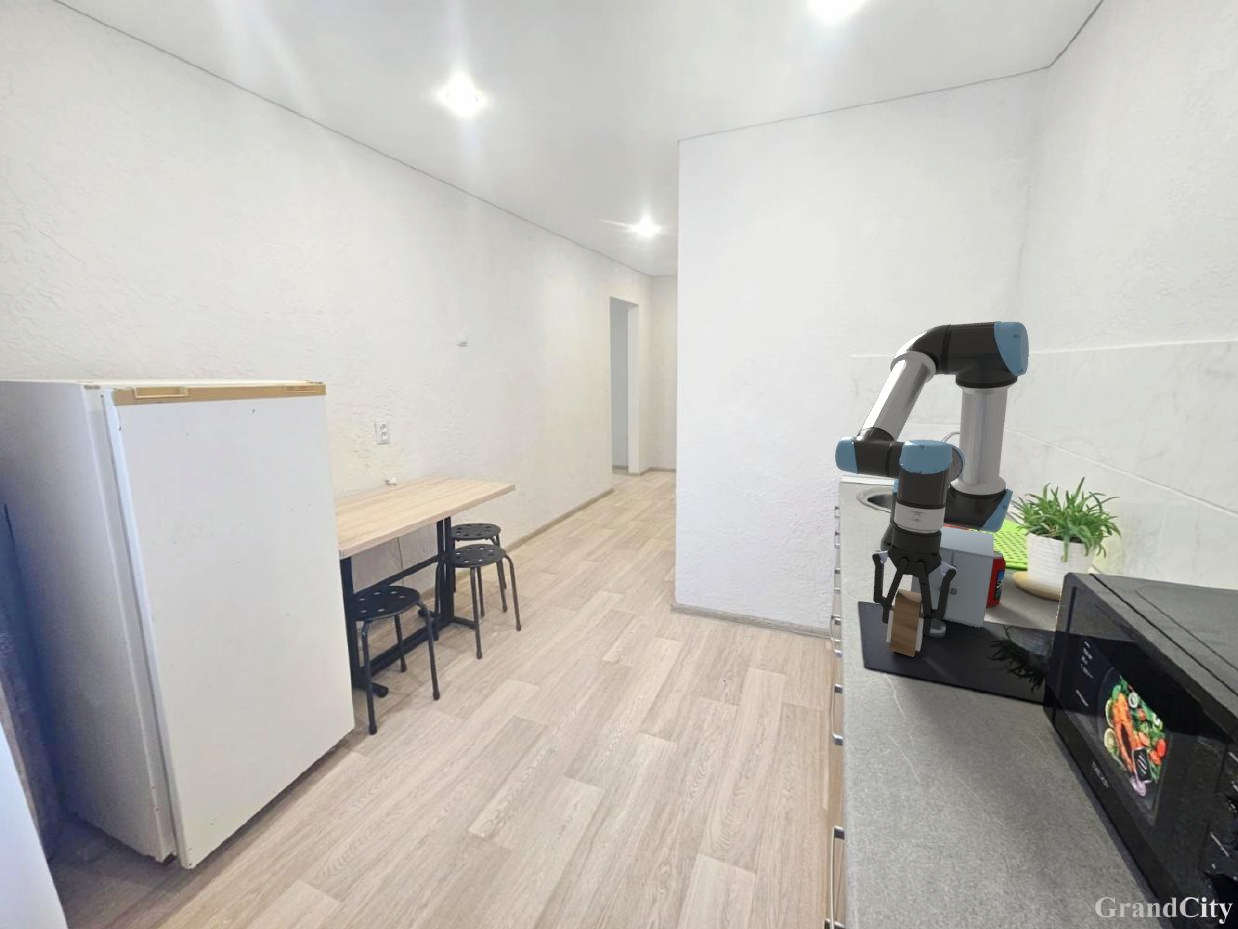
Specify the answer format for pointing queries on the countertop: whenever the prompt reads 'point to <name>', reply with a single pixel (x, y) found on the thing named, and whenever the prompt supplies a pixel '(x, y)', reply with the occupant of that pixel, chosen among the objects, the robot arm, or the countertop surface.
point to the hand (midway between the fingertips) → (903, 642)
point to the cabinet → (963, 575)
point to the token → (937, 629)
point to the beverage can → (996, 579)
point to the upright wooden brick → (905, 622)
